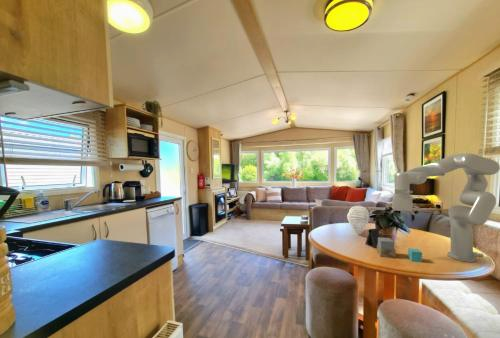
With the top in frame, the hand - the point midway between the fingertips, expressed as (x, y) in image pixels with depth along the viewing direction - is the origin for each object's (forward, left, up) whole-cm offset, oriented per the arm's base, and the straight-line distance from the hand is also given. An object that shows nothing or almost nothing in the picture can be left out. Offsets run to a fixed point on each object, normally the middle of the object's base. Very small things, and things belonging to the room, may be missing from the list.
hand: (402, 220), depth 130 cm
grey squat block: (+9, -1, -18) cm, 20 cm away
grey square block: (+9, -1, -23) cm, 25 cm away
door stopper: (+12, -16, -23) cm, 31 cm away
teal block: (-5, +3, -23) cm, 24 cm away
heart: (+17, -41, -23) cm, 50 cm away
